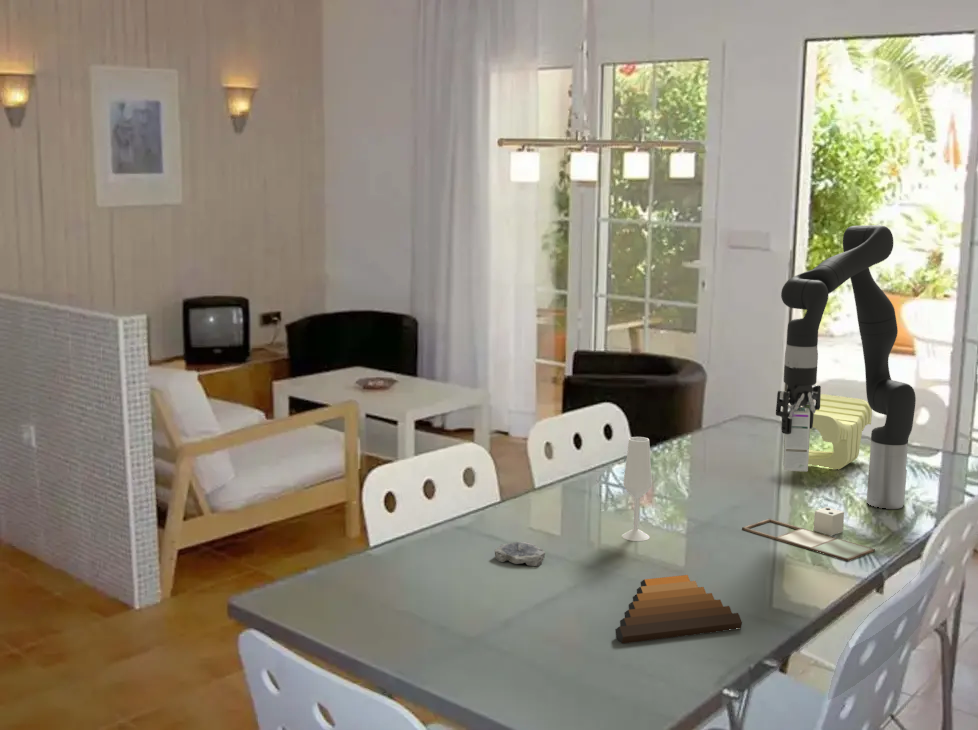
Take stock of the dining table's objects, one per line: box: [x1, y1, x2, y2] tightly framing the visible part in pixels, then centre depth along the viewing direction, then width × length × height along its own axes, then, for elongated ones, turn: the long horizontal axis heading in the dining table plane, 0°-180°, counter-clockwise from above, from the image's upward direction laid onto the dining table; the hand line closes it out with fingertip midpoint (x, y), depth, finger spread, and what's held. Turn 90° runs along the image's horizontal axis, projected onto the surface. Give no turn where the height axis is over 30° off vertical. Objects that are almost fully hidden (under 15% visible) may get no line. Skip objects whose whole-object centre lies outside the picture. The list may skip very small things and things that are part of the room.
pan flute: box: [615, 574, 743, 644], centre depth 231 cm, size 25×3×25 cm
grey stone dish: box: [494, 541, 546, 567], centre depth 262 cm, size 11×4×10 cm
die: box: [813, 506, 845, 537], centre depth 283 cm, size 5×5×5 cm
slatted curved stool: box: [808, 393, 873, 471], centre depth 346 cm, size 30×16×18 cm, turn 144°
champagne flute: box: [621, 436, 653, 542], centre depth 276 cm, size 7×7×24 cm
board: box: [741, 518, 876, 562], centre depth 277 cm, size 11×29×1 cm, turn 41°
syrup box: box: [782, 406, 811, 472], centre depth 276 cm, size 6×6×14 cm
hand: (797, 430), depth 276 cm, fingers closed on syrup box, 8 cm apart
